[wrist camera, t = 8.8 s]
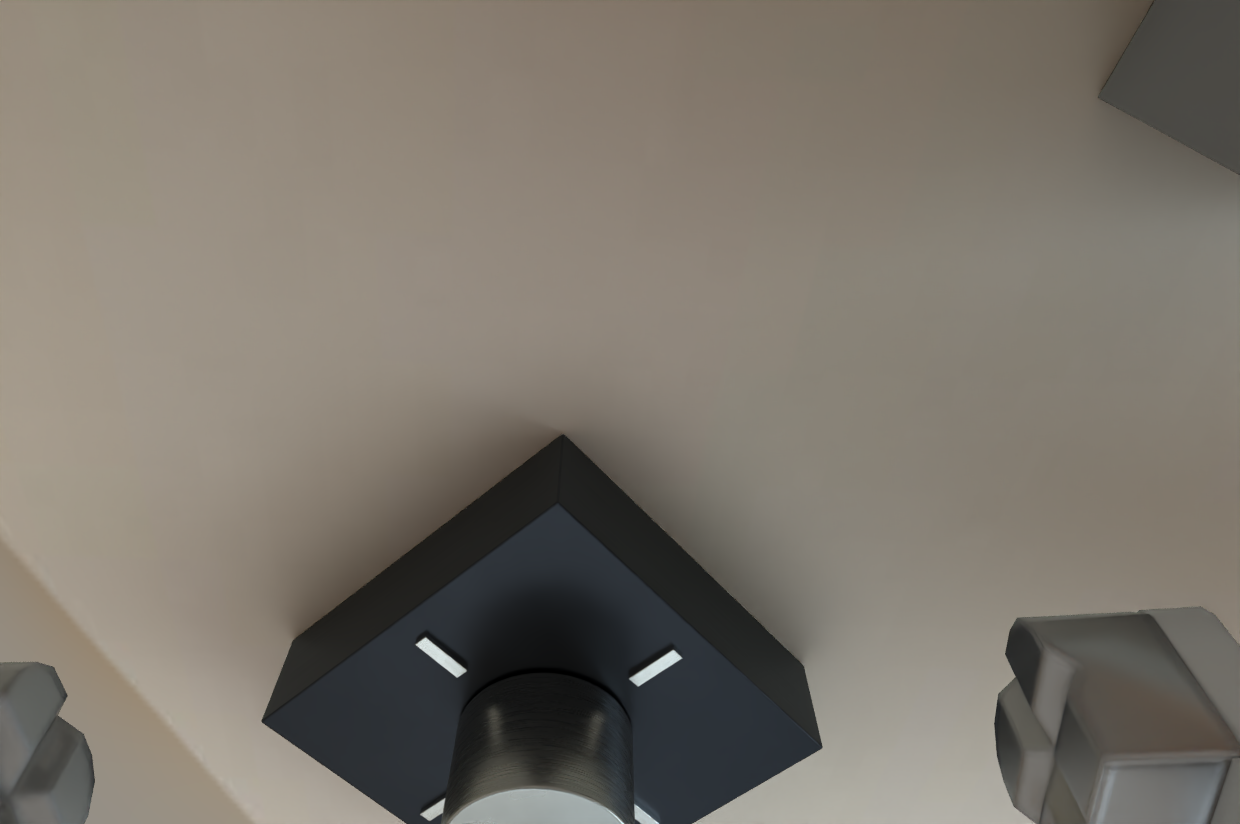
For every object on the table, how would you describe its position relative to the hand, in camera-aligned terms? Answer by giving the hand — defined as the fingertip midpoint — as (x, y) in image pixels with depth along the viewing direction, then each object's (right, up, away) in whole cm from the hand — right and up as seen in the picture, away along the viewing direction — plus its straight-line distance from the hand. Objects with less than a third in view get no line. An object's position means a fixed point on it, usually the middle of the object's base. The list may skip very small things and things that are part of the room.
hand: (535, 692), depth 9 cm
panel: (-1, -4, +20) cm, 20 cm away
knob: (-1, -6, +17) cm, 18 cm away
